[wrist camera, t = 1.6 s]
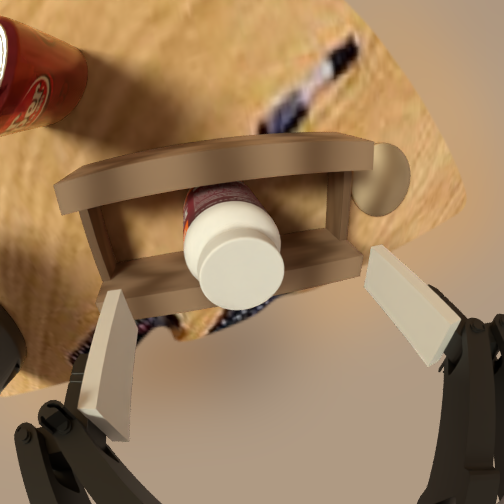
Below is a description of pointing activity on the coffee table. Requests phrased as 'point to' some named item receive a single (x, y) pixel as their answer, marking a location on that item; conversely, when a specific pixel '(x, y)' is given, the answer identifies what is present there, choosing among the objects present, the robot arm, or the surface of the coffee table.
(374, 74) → the coffee table surface
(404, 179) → the coaster
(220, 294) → the pill bottle
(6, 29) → the soda can
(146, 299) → the pocket block
